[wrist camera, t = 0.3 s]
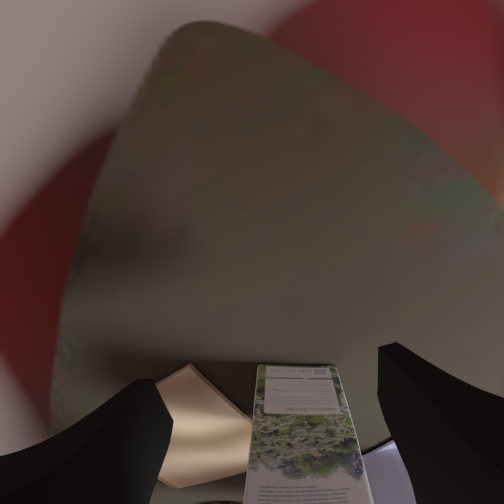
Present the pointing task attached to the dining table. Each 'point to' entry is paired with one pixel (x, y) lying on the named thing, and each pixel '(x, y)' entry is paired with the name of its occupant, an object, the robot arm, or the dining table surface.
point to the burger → (229, 502)
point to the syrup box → (303, 440)
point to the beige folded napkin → (202, 431)
